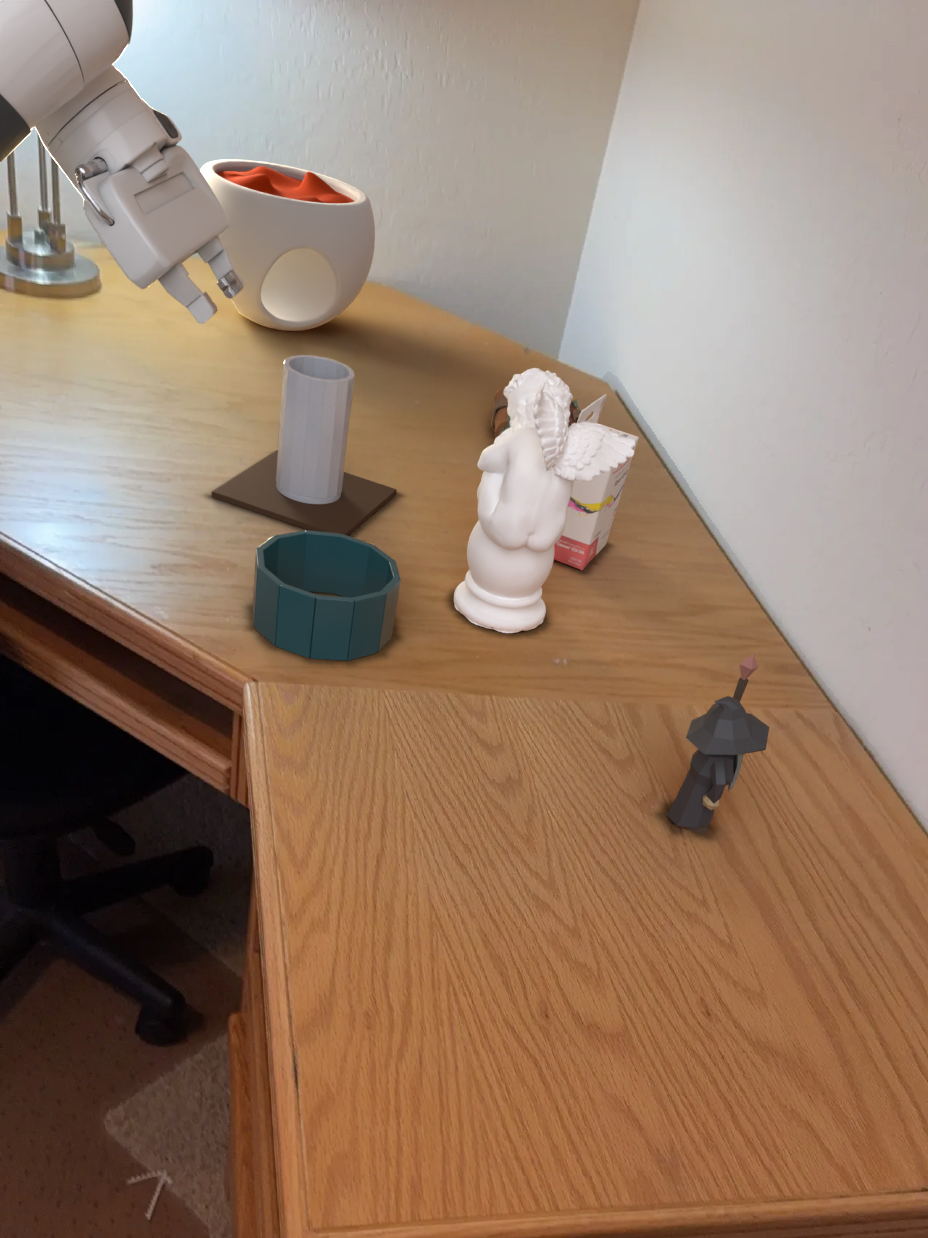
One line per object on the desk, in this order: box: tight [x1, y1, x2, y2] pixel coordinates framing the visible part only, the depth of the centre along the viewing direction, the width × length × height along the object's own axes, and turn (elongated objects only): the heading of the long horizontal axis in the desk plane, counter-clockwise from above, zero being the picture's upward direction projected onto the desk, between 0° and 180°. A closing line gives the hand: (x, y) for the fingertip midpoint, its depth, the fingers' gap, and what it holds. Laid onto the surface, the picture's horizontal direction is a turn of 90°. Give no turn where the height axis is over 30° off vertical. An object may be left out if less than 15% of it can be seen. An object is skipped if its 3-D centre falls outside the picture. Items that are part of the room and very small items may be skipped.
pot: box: [199, 158, 376, 332], centre depth 142 cm, size 24×24×18 cm
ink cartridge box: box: [554, 393, 640, 571], centre depth 106 cm, size 9×5×15 cm, turn 157°
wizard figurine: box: [666, 653, 770, 835], centre depth 76 cm, size 8×6×12 cm
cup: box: [276, 354, 355, 504], centre depth 104 cm, size 7×7×12 cm
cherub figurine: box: [453, 367, 635, 634], centre depth 90 cm, size 12×12×22 cm
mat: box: [211, 449, 398, 536], centre depth 108 cm, size 14×14×1 cm
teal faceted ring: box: [252, 529, 402, 662], centre depth 88 cm, size 12×12×6 cm
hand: (224, 305), depth 96 cm, fingers open, 8 cm apart
